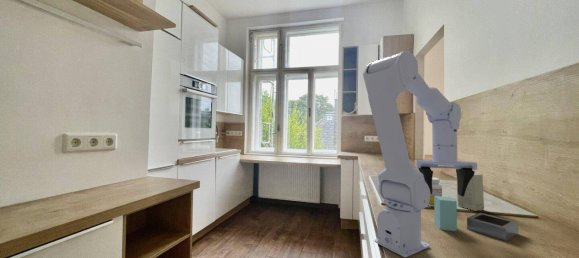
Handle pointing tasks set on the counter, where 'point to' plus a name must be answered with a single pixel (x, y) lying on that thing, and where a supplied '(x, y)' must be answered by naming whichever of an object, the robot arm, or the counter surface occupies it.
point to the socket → (492, 226)
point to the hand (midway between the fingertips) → (445, 194)
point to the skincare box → (473, 194)
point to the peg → (445, 213)
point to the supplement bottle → (435, 190)
